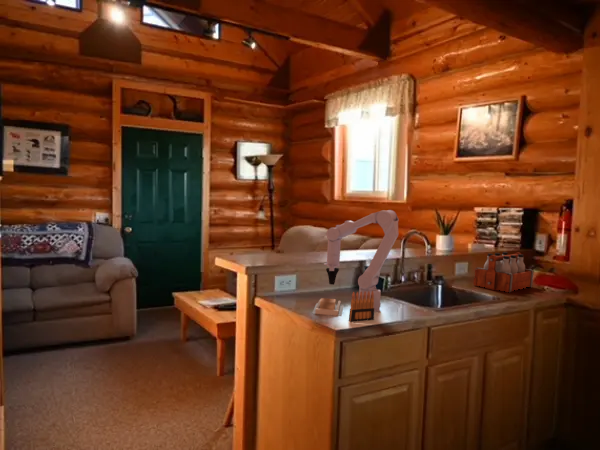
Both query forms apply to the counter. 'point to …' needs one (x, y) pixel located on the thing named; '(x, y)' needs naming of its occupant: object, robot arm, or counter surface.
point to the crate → (327, 303)
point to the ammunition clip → (362, 307)
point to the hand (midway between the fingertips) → (331, 284)
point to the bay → (328, 310)
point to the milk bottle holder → (504, 273)
